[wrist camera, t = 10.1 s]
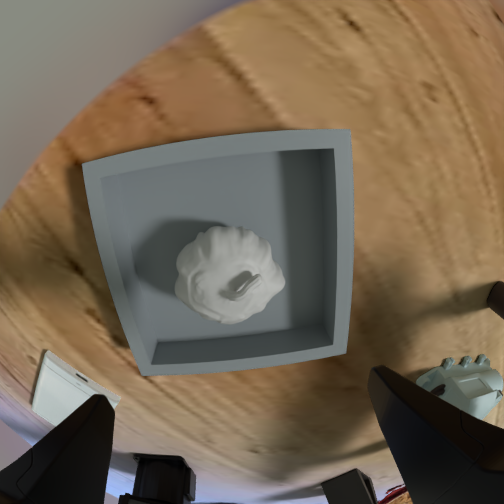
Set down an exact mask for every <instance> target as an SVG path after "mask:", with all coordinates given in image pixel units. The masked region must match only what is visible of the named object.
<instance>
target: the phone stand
mask: <svg viewBox="0 0 504 504" xmlns="http://www.w3.org/2000/svg"><path fill="white" fill-rule="evenodd" d="M321 486H322V488H323V491H324V493H325V495H326V498H327V500H328V503H329V504H378V502H377V498H376V494H375V491H374V487H373V483H372V480H371V478H370V477H368V476H367V475H365V474H364V473H362V472H361V471H360V470H358V469H355V470H352V471H350V472H348V473H346V474H343V475H341V476H339V477H336V478H334V479H332V480H329V481H327V482H324V483H321Z"/></svg>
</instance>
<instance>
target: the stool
mask: <svg viewBox="0 0 504 504" xmlns="http://www.w3.org/2000/svg"><path fill="white" fill-rule="evenodd" d="M487 302H488V306H489V307H490V308H491V309H492V310H493V311H494V312H495V313H497V314H498V315H499V316H500V317H501V318H503V319H504V282H499V283H497V284H496V285H495V286H494V288H493V289H492V291H491V293H490V296H489V298H488V299H487ZM485 359H486V356H485V355H484V354H481V355H479V358H478V360H477V361H476V362H473V363H470V361H472V358H471V357H470V356H468V357H467V356H465V357H464V360H463V361H462V363H461V364H458V365H452V364H453V363H455V360H454V359H453V358H452V357H451V358H447V359H446V362H445V363H444V365H443V366H441V367H435V368H433V369H432V370H430V371H428V372H427V373H425V374H423V375H422V376H420V377H419V378H418V379H417V380H416V384H417V385H419V386H420V387H422V388H424V389H425V390H427V391H429V392H431V393H432V394H434V395H436V396H438V397H439V398H441V399H443V400H445V401H447V402H448V403H450V404H452V405H454V406H456V407H457V408H459V409H460V410H463V411H465V412H467V413H468V414H470V415H472V416H474V417H476V418H478V419H480V420H482V419H483V418H484V417H486V415H487V414H488V413H489V412H490V410H491V409H492V408H493V407H495V406H496V405H497V404H498V402H499V401H500V400H501V398H502V396H503V394H502V393H501V392H502V389H503V379H502V376H501V375H500V373H499V372H498V371H497V370H496V369H493V370H492V368H491V367H490V360H489V359H488V358H487V359H486V360H485ZM484 360H485V361H484Z"/></svg>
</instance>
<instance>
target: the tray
mask: <svg viewBox="0 0 504 504" xmlns="http://www.w3.org/2000/svg"><path fill="white" fill-rule="evenodd" d="M82 168H83V175H84V182H85V188H86V194H87V199H88V205H89V210H90V215H91V220H92V224H93V229H94V233H95V238H96V242H97V246H98V250H99V254H100V258H101V261H102V265H103V269H104V272H105V276H106V279H107V282H108V286H109V289H110V292H111V295H112V298H113V301H114V305H115V307H116V310H117V313H118V316H119V319H120V322H121V325H122V327H123V330H124V333H125V335H126V338H127V341H128V343H129V346H130V348H131V351H132V353H133V356H134V358H135V361H136V363H137V365H138V368H139V370H140V372H141V374H142V376H154V375H186V374H203V373H217V372H228V371H239V370H248V369H256V368H264V367H272V366H279V365H285V364H292V363H298V362H304V361H310V360H315V359H321V358H326V357H331V356H336V355H341V354H345V353H346V350H347V341H348V332H349V322H350V310H351V297H352V280H353V258H354V183H353V160H352V144H351V131H350V129H308V130H284V131H268V132H256V133H245V134H235V135H226V136H217V137H210V138H202V139H195V140H189V141H183V142H177V143H171V144H165V145H160V146H154V147H149V148H144V149H140V150H135V151H130V152H126V153H122V154H117V155H113V156H109V157H105V158H101V159H97V160H94V161H90V162H86V163H83V164H82ZM214 226H221V227H227V226H233V227H236V228H238V227H240V226H243V227H244V228H245V229H249V230H251V231H253V233H254V234H256V235H257V236H258V237H262V238H264V239H266V240H267V241H268V242H269V244H270V246H271V255H272V259H273V260H274V261H275V262H277V263H278V265H279V266H280V268H281V270H282V274H283V277H284V279H285V286H284V288H283V289H282V290H281V291H280V292H278V293H277V294H276V295H274V296H273V297H272V298H271V299H270V301H269V302H268V303H267V304H266V306H265V308H264V309H263V310H262V311H261V312H258V313H255V314H253V315H251V316H250V317H249V318H248V319H246V320H244V321H242V322H239V323H235V324H221V323H218V322H217V321H214V320H207V319H204V318H202V317H201V316H200V315H199V314H198V313H196V312H194V311H193V310H191V309H190V308H188V307H187V306H186V305H185V304H184V303H183V302H182V301H181V300H179V299H178V297H177V296H176V294H175V283H176V280H177V278H178V277H179V272H178V270H177V266H176V262H177V257H178V255H179V253H180V252H181V251H182V250H183V248H184V247H185V246H186V245H187V244H189V243H191V242H193V241H194V240H196V237H197V235H198V234H199V233H200V232H203V233H206V231H207V230H208V229H209V228H211V227H214Z"/></svg>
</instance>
